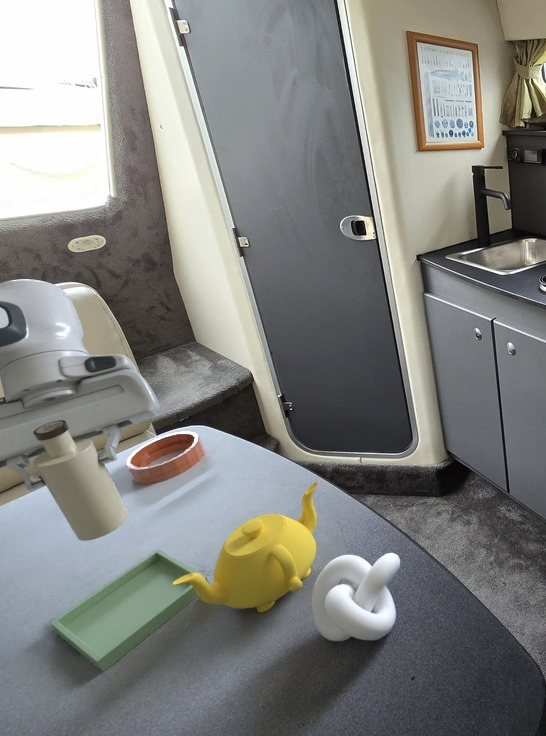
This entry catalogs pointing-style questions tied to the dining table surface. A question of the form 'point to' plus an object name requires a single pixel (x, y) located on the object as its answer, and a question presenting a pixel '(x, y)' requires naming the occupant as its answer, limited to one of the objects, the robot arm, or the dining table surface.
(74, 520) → the bottle
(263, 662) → the dining table surface
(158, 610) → the tray
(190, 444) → the ring
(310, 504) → the teapot
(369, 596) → the white knot
